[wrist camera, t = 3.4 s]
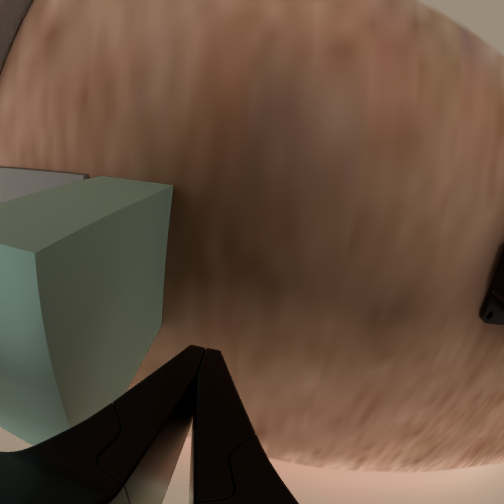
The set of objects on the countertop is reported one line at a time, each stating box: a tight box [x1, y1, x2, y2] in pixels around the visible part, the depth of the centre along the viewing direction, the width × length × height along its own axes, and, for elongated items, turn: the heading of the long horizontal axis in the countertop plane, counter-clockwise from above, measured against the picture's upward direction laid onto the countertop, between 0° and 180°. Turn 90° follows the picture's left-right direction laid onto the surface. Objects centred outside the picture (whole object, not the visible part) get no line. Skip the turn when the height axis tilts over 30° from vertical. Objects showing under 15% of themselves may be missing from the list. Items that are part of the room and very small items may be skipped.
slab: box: [0, 176, 174, 446], centre depth 10 cm, size 4×7×9 cm, turn 170°
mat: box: [0, 167, 88, 203], centre depth 14 cm, size 10×8×1 cm
